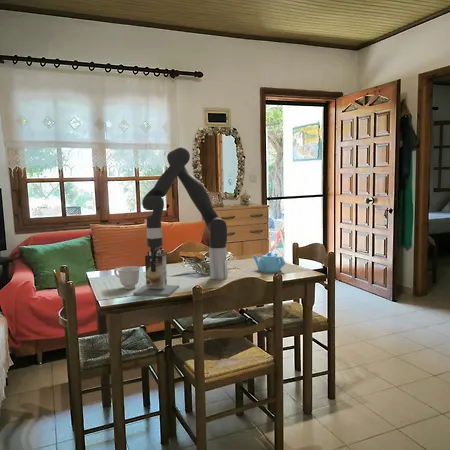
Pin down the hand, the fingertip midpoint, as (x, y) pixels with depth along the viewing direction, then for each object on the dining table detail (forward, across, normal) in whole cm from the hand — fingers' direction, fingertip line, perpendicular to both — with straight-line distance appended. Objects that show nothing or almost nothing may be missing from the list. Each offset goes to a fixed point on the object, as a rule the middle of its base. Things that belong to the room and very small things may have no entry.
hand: (156, 270), depth 211 cm
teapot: (+11, -50, +51) cm, 72 cm away
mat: (+11, 0, 0) cm, 11 cm away
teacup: (+11, -5, -18) cm, 21 cm away
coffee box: (+8, 0, 0) cm, 8 cm away
